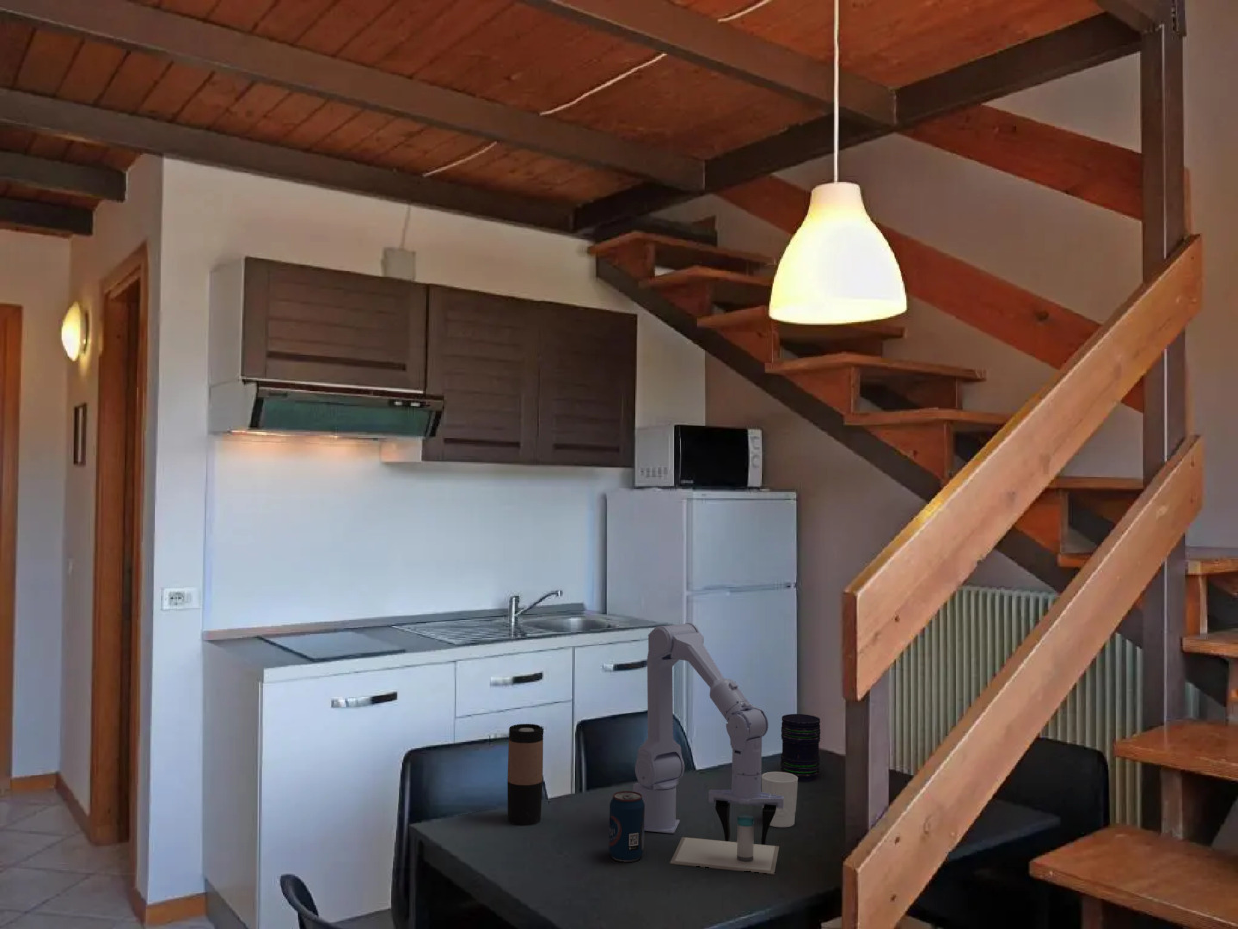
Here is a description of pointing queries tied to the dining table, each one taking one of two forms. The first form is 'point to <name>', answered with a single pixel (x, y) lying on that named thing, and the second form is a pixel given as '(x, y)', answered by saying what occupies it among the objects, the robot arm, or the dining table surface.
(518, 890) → the dining table surface
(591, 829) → the dining table surface
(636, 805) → the soda can
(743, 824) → the marker
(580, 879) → the dining table surface
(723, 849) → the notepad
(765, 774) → the white cup
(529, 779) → the travel mug
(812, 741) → the storage jar
